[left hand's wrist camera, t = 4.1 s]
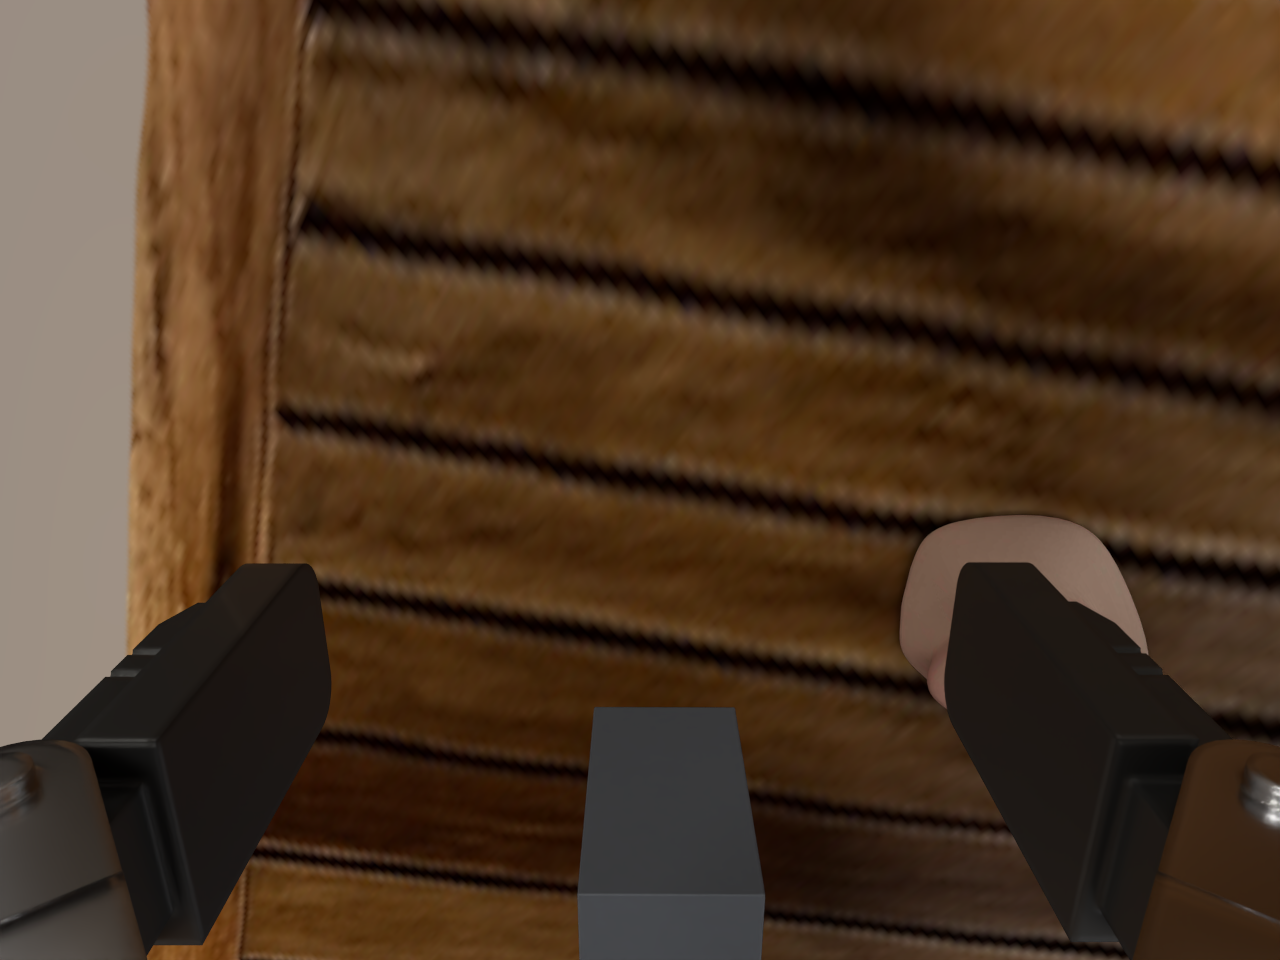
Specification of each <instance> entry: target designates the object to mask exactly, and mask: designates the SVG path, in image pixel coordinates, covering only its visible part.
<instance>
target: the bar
mask: <svg viewBox="0 0 1280 960" xmlns="http://www.w3.org/2000/svg"><path fill="white" fill-rule="evenodd" d="M577 895H578V926H579V957H580V960H761V954H762V938H763V922H764V907H765V891H764V884H763V878H762V872H761V866H760V860H759V854H758V848H757V842H756V835H755V829H754V823H753V817H752V811H751V805H750V799H749V792H748V786H747V780H746V774H745V768H744V762H743V756H742V749H741V743H740V737H739V731H738V725H737V719H736V713H735V708H717V707H595V708H594V717H593V728H592V739H591V750H590V761H589V772H588V783H587V794H586V805H585V817H584V828H583V839H582V850H581V861H580V872H579V883H578V894H577Z"/></svg>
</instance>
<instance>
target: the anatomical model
mask: <svg viewBox="0 0 1280 960" xmlns="http://www.w3.org/2000/svg"><path fill="white" fill-rule="evenodd" d="M968 562H1029V563H1031V564H1033V565H1034V566H1035V567H1036V568H1037V569H1038V570H1039V571H1040V572H1041V573H1042V574H1043V575H1044V576H1045V577H1046V578H1047V579H1048V580H1049V581H1050V582H1051V583H1052V585H1053V586H1054V587H1055V588H1056V589H1057V590H1058V591H1059V592H1060V593H1061V594H1062V595H1063V596H1064V597H1065V598H1066V599H1067V600H1068V601H1077V602H1079V603H1080V604H1082V605H1084V606H1086V607H1088V608H1089V609H1091V610H1093V611H1095V612H1097V613H1098V614H1100V615H1102V616H1104V617H1106V618H1108V619H1109V620H1111V621H1113V622H1115V623H1116V624H1117V625H1118V626H1119V627H1120V628H1121V629H1122V630H1123V631H1124V632H1125V633H1126V634H1127V635H1128V636H1129V637H1130V638H1131V639H1132V640H1133V641H1134V642H1135V643H1136V644H1137V645H1138V646H1139V647H1140V648H1141V653H1146V654H1147V655H1148V649H1147V644H1146V639H1145V635H1144V632H1143V628H1142V624H1141V621H1140V618H1139V616H1138V613H1137V610H1136V607H1135V605H1134V602H1133V600H1132V597H1131V595H1130V592H1129V590H1128V588H1127V585H1126V583H1125V581H1124V579H1123V576H1122V575H1121V573H1120V571H1119V569H1118V567H1117V565H1116V563H1115V561H1114V560H1113V558H1112V556H1111V555H1110V553H1109V552H1108V550H1107V549H1106V547H1105V546H1104V545H1103V544H1102V542H1101V541H1100V540H1099V539H1098V538H1097V537H1096V536H1095V535H1094V534H1093V533H1091V532H1090V531H1089V530H1087V529H1085V528H1084V527H1082V526H1081V525H1078V524H1076V523H1073V522H1071V521H1067V520H1063V519H1059V518H1054V517H1047V516H1040V515H1005V516H992V517H982V518H974V519H969V520H963V521H958V522H954V523H951V524H947V525H945V526H943V527H940V528H938V529H936V530H935V531H933V532H932V533H930V534H929V535H928V536H927V537H926V538H925V539H924V540H923V542H922V543H921V544H920V546H919V548H918V550H917V552H916V554H915V557H914V560H913V562H912V565H911V568H910V572H909V576H908V580H907V584H906V588H905V592H904V596H903V601H902V606H901V619H900V645H901V648H902V651H903V653H904V655H905V657H906V658H907V660H908V661H909V662H910V664H911V665H912V666H913V667H914V668H915V669H916V670H917V671H918V672H919V673H920V674H922V675H923V676H924V677H925V678H926V679H927V684H928V688H929V691H930V693H931V695H932V696H933V698H934V699H935V700H936V701H937V702H938V703H940V704H941V705H942V706H943V707H944V708H946V709H947V706H946V701H945V692H944V673H945V665H946V658H947V651H948V644H949V636H950V629H951V622H952V615H953V608H954V601H955V594H956V587H957V581H958V577H959V573H960V571H961V569H962V567H963V566H964V565H965V564H966V563H968Z"/></svg>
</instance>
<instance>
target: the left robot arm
mask: <svg viewBox="0 0 1280 960" xmlns="http://www.w3.org/2000/svg"><path fill="white" fill-rule="evenodd" d="M944 692H945V701H946V706H947V711H948V714H949V717H950V720H951V723H952V725H953V727H954V729H955V730H956V732H957V734H958V736H959V738H960V740H961V741H962V743H963V745H964V747H965V749H966V751H967V752H968V754H969V756H970V758H971V760H972V762H973V763H974V765H975V767H976V769H977V771H978V773H979V774H980V776H981V778H982V780H983V782H984V784H985V785H986V787H987V789H988V791H989V793H990V795H991V796H992V798H993V800H994V802H995V804H996V806H997V807H998V809H999V811H1000V813H1001V815H1002V817H1003V818H1004V820H1005V822H1006V824H1007V826H1008V828H1009V830H1010V831H1011V833H1012V835H1013V837H1014V839H1015V841H1016V842H1017V844H1018V846H1019V848H1020V850H1021V852H1022V853H1023V855H1024V857H1025V859H1026V861H1027V863H1028V864H1029V866H1030V868H1031V870H1032V872H1033V874H1034V875H1035V877H1036V879H1037V881H1038V883H1039V885H1040V886H1041V888H1042V890H1043V892H1044V894H1045V896H1046V897H1047V899H1048V901H1049V903H1050V905H1051V907H1052V908H1053V910H1054V912H1055V914H1056V916H1057V918H1058V919H1059V921H1060V923H1061V925H1062V927H1063V929H1064V930H1065V932H1066V934H1067V936H1068V938H1069V940H1070V942H1120V944H1121V946H1122V947H1123V949H1124V951H1125V952H1126V954H1127V956H1128V957H1129V959H1130V960H1280V747H1278V746H1274V745H1270V744H1265V743H1260V742H1255V741H1247V740H1233V739H1232V738H1231V737H1230V736H1229V735H1228V734H1227V733H1226V732H1225V731H1224V730H1223V729H1222V728H1221V727H1220V726H1219V725H1218V724H1217V723H1216V722H1215V721H1214V720H1213V719H1212V718H1211V717H1210V716H1209V715H1208V714H1207V713H1206V712H1205V711H1204V710H1203V709H1202V708H1201V707H1200V706H1199V705H1198V704H1197V703H1196V702H1195V701H1194V700H1193V699H1192V698H1191V697H1190V696H1189V695H1188V694H1187V693H1186V692H1185V691H1184V690H1183V689H1182V688H1181V687H1180V686H1179V685H1178V684H1176V683H1175V682H1174V681H1173V680H1172V679H1171V678H1170V677H1169V676H1168V675H1163V674H1162V669H1161V668H1160V667H1159V666H1158V665H1157V664H1156V663H1155V662H1154V661H1153V660H1152V659H1151V658H1150V657H1149V656H1148V655H1147V654H1146V653H1141V648H1140V647H1139V646H1138V645H1137V644H1136V643H1135V642H1134V641H1133V640H1132V639H1131V638H1130V637H1129V636H1128V635H1127V634H1126V633H1125V632H1124V631H1123V630H1122V629H1121V628H1120V627H1119V626H1118V625H1117V624H1116V623H1115V622H1113V621H1111V620H1109V619H1108V618H1106V617H1104V616H1102V615H1100V614H1098V613H1097V612H1095V611H1093V610H1091V609H1089V608H1088V607H1086V606H1084V605H1082V604H1080V603H1079V602H1077V601H1068V600H1067V599H1066V598H1065V597H1064V596H1063V595H1062V594H1061V593H1060V592H1059V591H1058V590H1057V589H1056V588H1055V587H1054V586H1053V585H1052V583H1051V582H1050V581H1049V580H1048V579H1047V578H1046V577H1045V576H1044V575H1043V574H1042V573H1041V572H1040V571H1039V570H1038V569H1037V568H1036V567H1035V566H1034V565H1033V564H1031V563H1029V562H968V563H966V564H965V565H964V566H963V567H962V569H961V571H960V573H959V577H958V581H957V587H956V594H955V601H954V608H953V615H952V622H951V629H950V636H949V644H948V651H947V658H946V665H945V673H944ZM330 697H331V672H330V664H329V657H328V650H327V643H326V636H325V629H324V622H323V615H322V608H321V601H320V594H319V587H318V582H317V578H316V575H315V572H314V570H313V568H312V567H311V566H310V565H309V564H244V565H242V566H241V567H240V568H239V569H238V570H237V571H236V572H235V573H234V574H233V575H232V576H231V577H230V578H229V579H228V580H227V581H226V582H225V583H224V584H223V585H222V586H221V587H220V588H219V589H218V590H217V592H216V593H215V594H214V595H213V596H212V597H211V598H210V599H209V600H208V601H207V602H206V603H197V604H195V605H193V606H191V607H189V608H188V609H186V610H184V611H182V612H180V613H179V614H177V615H175V616H173V617H171V618H169V619H168V620H166V621H164V622H162V623H160V624H159V625H158V626H157V627H156V628H155V629H154V630H153V631H152V632H150V633H149V634H148V635H147V636H146V637H145V638H144V639H143V640H142V641H141V642H140V643H139V644H138V645H137V646H136V647H135V648H134V649H133V654H132V655H127V656H126V657H125V658H124V659H123V660H122V661H121V662H120V663H119V664H118V665H117V666H116V667H115V668H114V669H113V670H112V671H111V676H110V677H105V678H104V679H103V680H102V681H101V682H100V683H99V684H98V685H97V686H96V687H95V688H94V689H93V690H92V691H90V693H89V694H87V695H86V696H85V697H84V698H83V699H82V700H81V701H80V702H79V703H78V704H77V705H76V706H75V707H74V708H73V709H72V710H71V711H70V712H69V713H68V714H67V715H66V716H65V717H64V718H63V719H62V720H61V721H60V722H59V723H58V724H57V725H56V726H55V727H54V728H53V729H52V730H51V731H50V732H49V733H48V734H47V735H46V736H45V737H44V738H43V739H42V740H33V741H25V742H20V743H15V744H10V745H6V746H3V747H0V960H147V954H148V953H149V951H150V950H151V948H152V946H153V945H203V943H204V941H205V939H206V937H207V936H208V934H209V932H210V930H211V928H212V926H213V925H214V923H215V921H216V919H217V917H218V916H219V914H220V912H221V910H222V908H223V907H224V905H225V903H226V901H227V899H228V897H229V896H230V894H231V892H232V890H233V888H234V887H235V885H236V883H237V881H238V879H239V877H240V876H241V874H242V872H243V870H244V868H245V867H246V865H247V863H248V861H249V859H250V858H251V856H252V854H253V852H254V850H255V848H256V847H257V845H258V843H259V841H260V839H261V838H262V836H263V834H264V832H265V830H266V829H267V827H268V825H269V823H270V821H271V819H272V818H273V816H274V814H275V812H276V810H277V809H278V807H279V805H280V803H281V801H282V800H283V798H284V796H285V794H286V792H287V790H288V789H289V787H290V785H291V783H292V781H293V780H294V778H295V776H296V774H297V772H298V770H299V769H300V767H301V765H302V763H303V761H304V760H305V758H306V756H307V754H308V752H309V751H310V749H311V747H312V745H313V743H314V741H315V740H316V738H317V736H318V734H319V732H320V731H321V729H322V727H323V725H324V723H325V720H326V717H327V713H328V709H329V704H330Z"/></svg>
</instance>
